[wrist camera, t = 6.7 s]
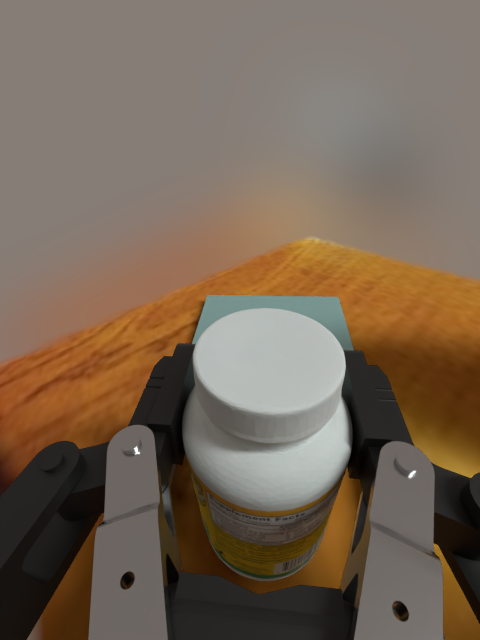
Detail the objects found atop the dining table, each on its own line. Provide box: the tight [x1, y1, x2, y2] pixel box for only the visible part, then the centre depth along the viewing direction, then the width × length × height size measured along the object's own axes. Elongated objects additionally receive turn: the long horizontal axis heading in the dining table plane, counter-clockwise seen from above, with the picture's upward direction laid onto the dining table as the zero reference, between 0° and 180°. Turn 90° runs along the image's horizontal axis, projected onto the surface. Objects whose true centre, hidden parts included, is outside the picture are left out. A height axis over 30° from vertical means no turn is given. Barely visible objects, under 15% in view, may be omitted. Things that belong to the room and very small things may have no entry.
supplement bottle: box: [182, 308, 353, 581], centre depth 11 cm, size 5×5×10 cm
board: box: [192, 295, 354, 350], centre depth 24 cm, size 12×11×1 cm
